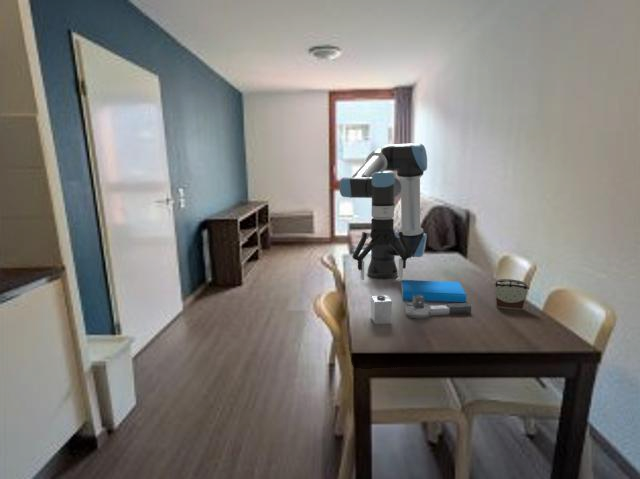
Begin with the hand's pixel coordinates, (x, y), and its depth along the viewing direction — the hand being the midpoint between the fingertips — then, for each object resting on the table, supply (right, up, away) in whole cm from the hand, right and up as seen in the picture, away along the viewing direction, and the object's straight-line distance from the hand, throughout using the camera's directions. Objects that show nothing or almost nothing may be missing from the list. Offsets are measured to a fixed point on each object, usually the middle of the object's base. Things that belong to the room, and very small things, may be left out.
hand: (381, 278), depth 134 cm
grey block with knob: (0, -15, +3) cm, 16 cm away
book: (+26, -11, +30) cm, 41 cm away
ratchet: (+22, -14, +9) cm, 28 cm away
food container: (+52, -12, +16) cm, 56 cm away
